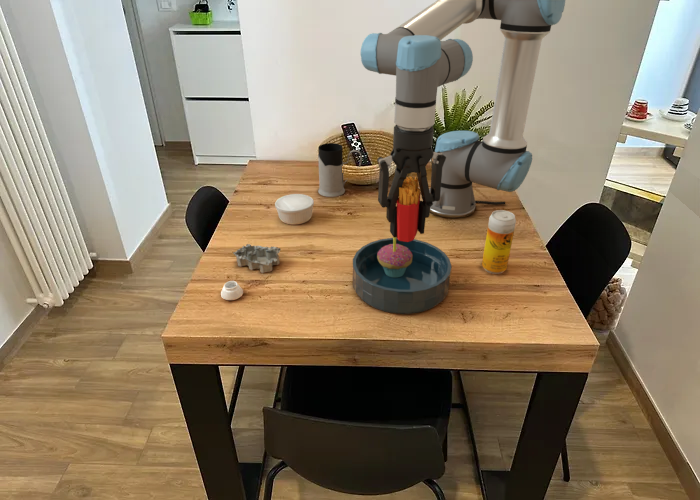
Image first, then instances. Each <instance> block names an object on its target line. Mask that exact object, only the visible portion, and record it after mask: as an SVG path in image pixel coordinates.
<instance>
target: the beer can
mask: <svg viewBox="0 0 700 500" xmlns="http://www.w3.org/2000/svg"><path fill="white" fill-rule="evenodd" d="M516 224H517V219H516V215H515V214H514V213H513V212H512V211H509V210H503V209H497V210H494V211H492V212H491V214H490V216H489V217H488V224H487V230H486V237H485V242H484V248H483V255H482V261H481V267H482V268H483V270H484V271H485V272H487V273H489V274H493V275H501V274H502V273H504V272H505V271H506V270H507V269H508V264H509V260H510V255H511V249H512V245H513V238H514V234H515V229H516Z"/></svg>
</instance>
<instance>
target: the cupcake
mask: <svg viewBox="0 0 700 500" xmlns="http://www.w3.org/2000/svg"><path fill="white" fill-rule="evenodd" d="M392 238H393V244H389V245H386V246H384V247H383V248H381V249H380V250H379V252H378V253H377V259H378V261H379V263H380V264H381V265H382V266H383V268H384V272H385V274H386V275H387V276H389V277H393V278H398V277H401V276H403V275H404V272H405V270H406V268H407V267H408V266H409V265H410V264H411V263H412V257H413V255H412V252H411V251H410V250H409V249H408V248H407V247H405V246H403V245H399V244H396V237H393V236H392Z"/></svg>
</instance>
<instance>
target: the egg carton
mask: <svg viewBox="0 0 700 500" xmlns="http://www.w3.org/2000/svg"><path fill="white" fill-rule="evenodd" d="M281 251H282V250H281V248H280V247H278V246H270V247H269V246H262V245H252V244H250V243H247V244H246V245H243V246H242V247H240V248H239V249H236V251H234V252H233V251H232V253H233V256H235V257H236V263H237V266H238V267H245V266H248V269H249V270H251V271H254V270H255V269H258V270H259V271H260V273H261V274H264V273H269V272H272V271H273V270H274V269H273V267H274V266H278V265H280V263H281V262H280V255H279V254H280V252H281Z"/></svg>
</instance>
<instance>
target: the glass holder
mask: <svg viewBox="0 0 700 500" xmlns="http://www.w3.org/2000/svg"><path fill="white" fill-rule="evenodd" d="M354 152H356V153H358V154H359V156H360V160H359V164H358V167H360V168H361V165H362V161H363V160H362V159H363V156H362V153H361V152H360V151H359V150H357V149H353V150H351V151H349V153H348V154H347V159H346V160H347V161H345V162H344V161H343V158H344V157H343V145H342V144H339V143H334V142H329V143H322V144H320V145H318V154H317V157H318V158H317V159H318V182H319V183H318V186H319V187H318V190H317V192H318V194H319V195H320V196H323V197H327V198H335V197H340V196H342V195H344V194H345V192H346V190H345V185H346V183H347V182H348V181H349V180H346V179H345V180H344V172H343V173H342V166H343V167H344V165H347V164H348V163H349V161H350V155H351V154H352V153H354Z"/></svg>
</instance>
